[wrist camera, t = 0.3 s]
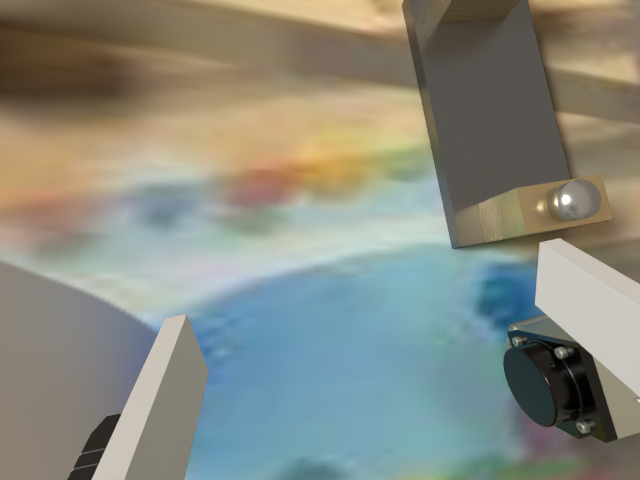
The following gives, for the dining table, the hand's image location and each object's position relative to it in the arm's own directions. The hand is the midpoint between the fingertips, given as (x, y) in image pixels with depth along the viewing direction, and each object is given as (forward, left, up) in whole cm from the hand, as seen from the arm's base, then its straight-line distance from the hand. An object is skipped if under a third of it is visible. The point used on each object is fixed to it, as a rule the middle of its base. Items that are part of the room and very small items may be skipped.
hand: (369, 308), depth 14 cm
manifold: (+12, -15, -15) cm, 25 cm away
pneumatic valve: (-7, -15, -15) cm, 23 cm away
